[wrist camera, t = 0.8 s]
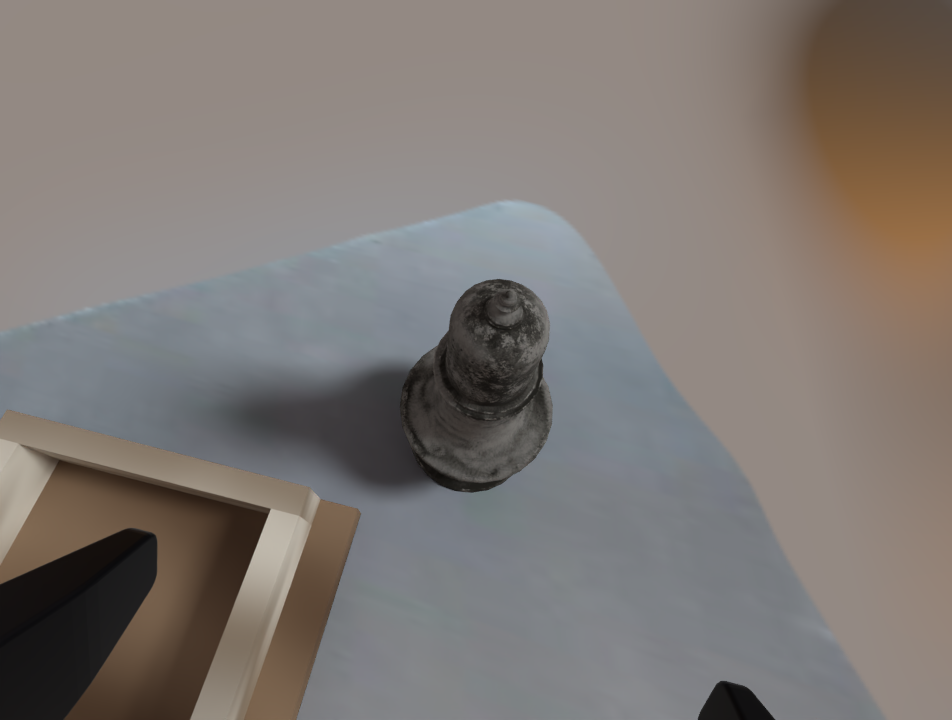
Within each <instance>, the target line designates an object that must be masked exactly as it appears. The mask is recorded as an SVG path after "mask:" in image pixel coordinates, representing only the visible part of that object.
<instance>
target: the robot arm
mask: <svg viewBox="0 0 952 720" xmlns="http://www.w3.org/2000/svg"><path fill="white" fill-rule="evenodd" d="M157 552H158V541H157V537H156V535H155V534H154V533H152V532H148V531H144V530H140V529H136V528H127V529H124V530H121V531H119V532H117V533H114V534H112V535H110V536H108V537H105V538H103V539H101V540H99V541H96V542H94V543H92V544H89V545H87V546H85V547H83V548H80V549H78V550H76V551H74V552H71V553H69V554H67V555H65V556H62V557H60V558H58V559H56V560H53V561H51V562H49V563H47V564H44V565H42V566H40V567H38V568H35V569H33V570H31V571H29V572H26V573H24V574H22V575H19V576H17V577H15V578H13V579H10V580H8V581H6V582H4V583H1V584H0V720H64V719H65V718H66V716H67V715H68V714H69V712H70V711H71V710H72V708H73V707H74V706H75V705H76V703H77V702H78V701H79V699H80V698H81V697H82V695H83V694H84V693H85V691H86V690H87V688H88V687H89V686H90V684H91V683H92V681H93V680H94V678H95V677H96V675H97V674H98V672H99V671H100V669H101V668H102V666H103V665H104V663H105V662H106V660H107V658H108V657H109V655H110V654H111V652H112V650H113V649H114V647H115V646H116V644H117V643H118V641H119V639H120V638H121V636H122V635H123V633H124V631H125V630H126V628H127V627H128V625H129V624H130V622H131V620H132V619H133V617H134V616H135V614H136V612H137V611H138V609H139V608H140V606H141V604H142V603H143V601H144V600H145V598H146V597H147V595H148V593H149V592H150V590H151V589H152V587H153V585H154V583H155V580H156V576H157ZM698 720H775V719H774V718H773V716H772V715H771V714H770V713H769V712H768V710H767V709H766V708H765V707H764V706H763V704H762V703H761V702H760V701H759V699H758V698H757V697H756V696H755V695H754V693H753V692H752V691H751V690H750V689H748V688H747V687H745V686H742V685H739V684H735V683H731V682H727V681H720V682H719V683H717V684H716V686H715V687H714V689H713V691H712V692H711V694H710V696H709V698H708V699H707V701H706V703H705V705H704V706H703V708H702V710H701V712H700V714H699V717H698Z"/></svg>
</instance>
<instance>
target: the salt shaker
mask: <svg viewBox="0 0 952 720" xmlns="http://www.w3.org/2000/svg"><path fill="white" fill-rule="evenodd" d="M549 329H550V322H549V318H548V314H547V310H546V309H545V307H544V305H543V303H542V301H541V300H540V299H539V298H538V297H537V296H536V295H535V293H534V292H533V291H531V290H530V289H528V288H526V287H525V286H523V285H521V284H519V283H516V282H513V281H510V280H502V279H496V280H487V281H484V282H481V283H478V284H476V285H474V286H473V287H471V288H470V289H468V290H467V291H466V292H465V293H464V294H463V295H462V296H461V297H460V299H459V300H458V301H457V303H456V305H455V307H454V309H453V311H452V314H451V317H450V325H449V331H448V332H447V333H446V334H445V336H444V337H443V338H442V339H441V340H440V342H439V345H438V346H436V347H435V348H433V349H432V350H431V351H429V352H428V353H426V354H425V355H423V356H422V357H421V359H420V360H419V361H418V362H417V363H416V364H415V366H414V367H413V368H412V369H411V371H410V373H409V375H408V377H407V379H406V381H405V384H404V386H403V389H402V396H401V402H400V411H401V420H402V427H403V429H404V431H405V434H406V436H407V439H408V441H409V443H410V445H411V448H412V451H413V453H414V456H415V458H416V460H417V463H418V464H419V465H420V466H421V468H422V469H423V470H424V471H425V473H426V474H427V475H428V476H429V477H431V478H432V479H433V480H435V481H436V482H437V483H439V484H440V485H442V486H445V487H447V488H450V489H453V490H455V491H463V492H478V491H485V490H489V489H491V488H493V487H496V486H498V485H500V484H502V483H503V482H505V481H506V480H507V479H508V478H509V477H511V476H512V475H513V474H515V473H517V472H520V471H521V470H522V469H523V468H524V467H526V466H527V465H528V464H529V463H530V462H531V461H533V460H534V459H535V458H536V456H537V455H538V453H539V452H540V450H541V449H542V447H543V446H544V444H545V443H546V441H547V437H548V434H549V431H550V428H551V425H552V407H553V405H552V401H551V396H550V392H549V388H548V385H547V383H546V382H545V380H544V378H543V363H542V356H543V354H544V352H545V350H546V347H547V344H548V341H549Z"/></svg>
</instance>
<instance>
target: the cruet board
mask: <svg viewBox="0 0 952 720" xmlns="http://www.w3.org/2000/svg"><path fill="white" fill-rule="evenodd" d="M360 515H361V513H360V511H359V510H358V509H356V508H352V507H348V506H345V505H341V504H337V503H333V502H329V501H325V500H321V499H320V498H319V497H318V496H317V495H316V494H315V493H314V492H313V491H312V489H311V488H310V487H306V486H302V485H298V484H295V483H291V482H287V481H283V480H279V479H275V478H271V477H267V476H263V475H260V474H256V473H252V472H248V471H244V470H240V469H236V468H232V467H229V466H225V465H221V464H217V463H213V462H209V461H205V460H201V459H197V458H194V457H190V456H186V455H182V454H178V453H174V452H170V451H166V450H162V449H159V448H155V447H151V446H147V445H143V444H139V443H135V442H131V441H128V440H124V439H120V438H116V437H112V436H108V435H104V434H100V433H96V432H93V431H89V430H85V429H81V428H77V427H73V426H69V425H65V424H61V423H58V422H54V421H50V420H46V419H42V418H38V417H34V416H30V415H26V414H23V413H19V412H15V411H11V410H7V411H6V412H5V414H4V415H3V417H2V419H1V420H0V584H1V583H4V582H6V581H8V580H10V579H13V578H15V577H17V576H19V575H22V574H24V573H26V572H29V571H31V570H33V569H35V568H38V567H40V566H42V565H44V564H47V563H49V562H51V561H53V560H56V559H58V558H60V557H62V556H65V555H67V554H69V553H71V552H74V551H76V550H78V549H80V548H83V547H85V546H87V545H89V544H92V543H94V542H96V541H99V540H101V539H103V538H105V537H108V536H110V535H112V534H114V533H117V532H119V531H121V530H124V529H127V528H136V529H140V530H144V531H148V532H152V533H154V534H155V535H156V537H157V541H158V552H157V576H156V580H155V583H154V585H153V587H152V589H151V590H150V592H149V593H148V595H147V597H146V598H145V600H144V601H143V603H142V604H141V606H140V608H139V609H138V611H137V612H136V614H135V616H134V617H133V619H132V620H131V622H130V624H129V625H128V627H127V628H126V630H125V631H124V633H123V635H122V636H121V638H120V639H119V641H118V643H117V644H116V646H115V647H114V649H113V650H112V652H111V654H110V655H109V657H108V658H107V660H106V662H105V663H104V665H103V666H102V668H101V669H100V671H99V672H98V674H97V675H96V677H95V678H94V680H93V681H92V683H91V684H90V686H89V687H88V688H87V690H86V691H85V693H84V694H83V695H82V697H81V698H80V699H79V701H78V702H77V703H76V705H75V706H74V707H73V708H72V710H71V711H70V712H69V714H68V715H67V716H66V718H65V719H64V720H296V718H297V715H298V712H299V708H300V705H301V702H302V699H303V696H304V693H305V689H306V686H307V683H308V680H309V677H310V674H311V670H312V667H313V664H314V661H315V658H316V654H317V651H318V648H319V645H320V642H321V639H322V635H323V632H324V629H325V626H326V623H327V620H328V616H329V613H330V610H331V607H332V604H333V601H334V597H335V594H336V591H337V588H338V585H339V581H340V578H341V575H342V572H343V569H344V566H345V562H346V559H347V556H348V553H349V550H350V547H351V543H352V540H353V537H354V534H355V531H356V528H357V524H358V521H359V518H360Z"/></svg>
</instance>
